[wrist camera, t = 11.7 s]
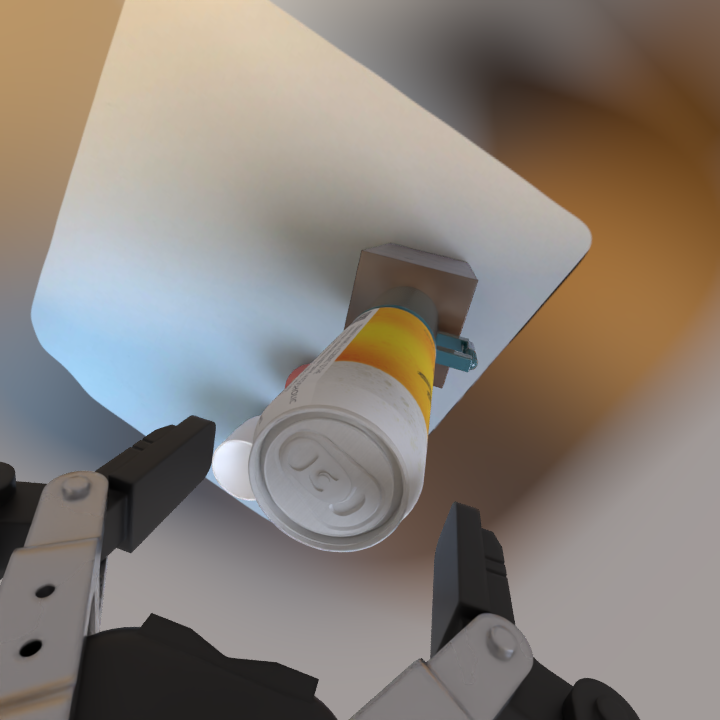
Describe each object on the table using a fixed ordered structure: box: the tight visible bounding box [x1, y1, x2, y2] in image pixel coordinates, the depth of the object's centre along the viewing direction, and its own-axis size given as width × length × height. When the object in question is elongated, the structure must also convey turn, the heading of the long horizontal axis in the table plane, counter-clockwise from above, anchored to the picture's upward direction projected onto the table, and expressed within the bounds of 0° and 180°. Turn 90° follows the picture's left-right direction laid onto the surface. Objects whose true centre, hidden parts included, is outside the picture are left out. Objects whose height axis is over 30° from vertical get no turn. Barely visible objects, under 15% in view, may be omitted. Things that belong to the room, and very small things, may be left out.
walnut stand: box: [344, 243, 478, 388], centre depth 43 cm, size 10×10×18 cm
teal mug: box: [356, 286, 478, 372], centre depth 31 cm, size 6×9×9 cm
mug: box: [212, 415, 261, 501], centre depth 58 cm, size 12×9×12 cm
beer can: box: [248, 307, 436, 552], centre depth 20 cm, size 6×6×15 cm
